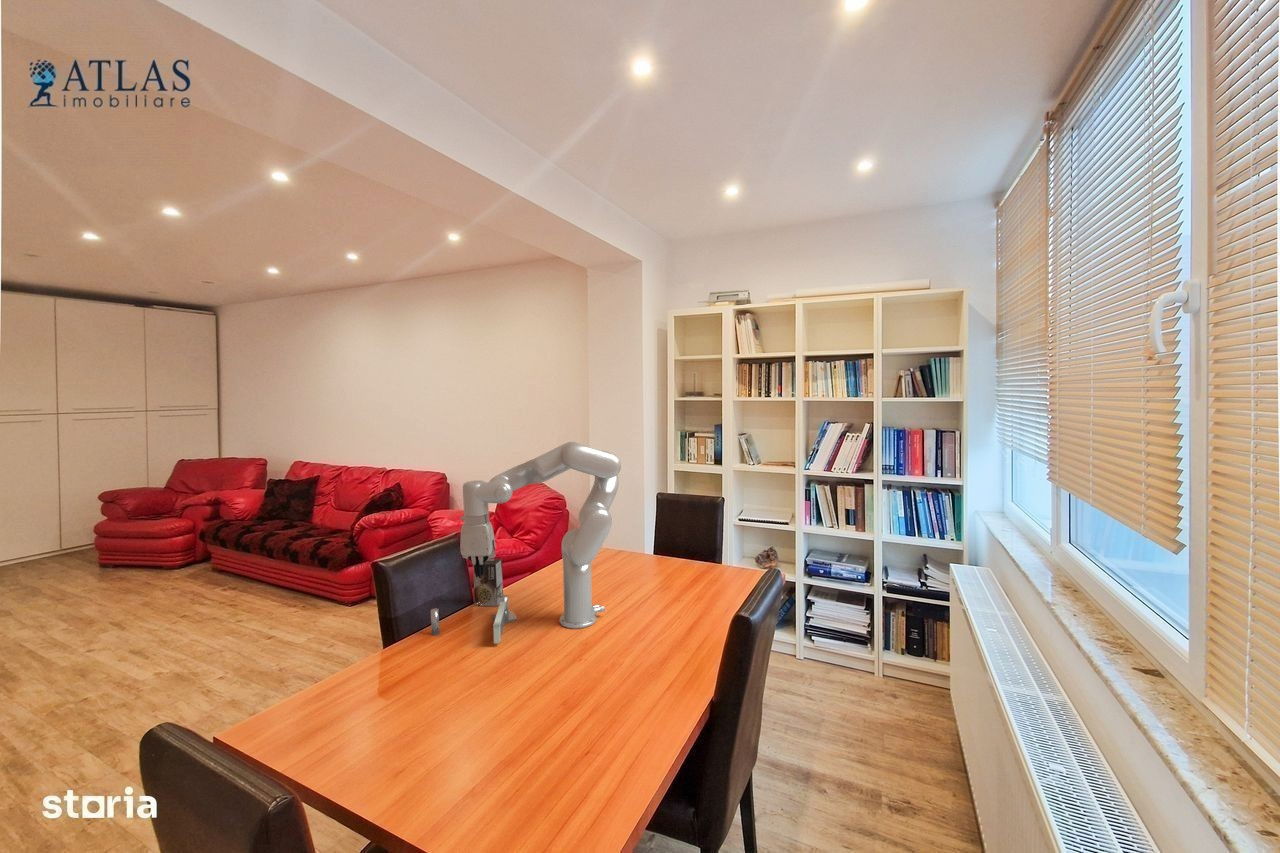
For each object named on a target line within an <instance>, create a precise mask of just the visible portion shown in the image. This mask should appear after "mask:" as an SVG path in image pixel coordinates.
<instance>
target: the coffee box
mask: <svg viewBox="0 0 1280 853" xmlns="http://www.w3.org/2000/svg"><path fill="white" fill-rule="evenodd" d="M472 568H473V569H472V570H473V590H474V594H473V595H474V606H476V607H499V606H500V596H502V595H504V586H503V585H504V583H503V582H504V581H503V559H502V558H491V559H488V560H487V561H486V562H485V573H484V575H483V576H481V577H476V576H475V573H474V565H473V564H472ZM479 602H480V603H479ZM477 603H478V604H477ZM481 604H482V605H481ZM478 605H480V606H478Z"/></svg>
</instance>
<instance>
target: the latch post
mask: <svg viewBox="0 0 1280 853" xmlns="http://www.w3.org/2000/svg"><path fill="white" fill-rule="evenodd" d="M439 614H440V612H439V608H438V607H437V608H436V607H435V608H432V609H431V610H430V628H431V631H430V632H431V636H437V635H440V616H439Z"/></svg>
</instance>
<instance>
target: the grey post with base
mask: <svg viewBox="0 0 1280 853" xmlns="http://www.w3.org/2000/svg"><path fill="white" fill-rule="evenodd" d="M501 602H506V607H505V613H506V618H505V622H504V624H508V622H509V623H513V622H517V621H518V618H517V615H515V613H514V611H513V610H509V595H508V594H503V595H502V596H500V603H501ZM496 615H497V613H496V614H492V615H491V617H493V618H492V619H493V622H495V618H496Z"/></svg>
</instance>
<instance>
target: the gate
mask: <svg viewBox="0 0 1280 853" xmlns="http://www.w3.org/2000/svg"><path fill="white" fill-rule="evenodd" d="M505 607H506V602H501V603H500V604H499V605H498V610H497V613H496V614H497V615H496V618H495V621H493V625H492V626H493V630H492V631H493V644H499V643H501V641H502V640H501V636H502V633H503V629H504V627H505V626H504V625H505V623H504V622H505V618H506V613H505Z"/></svg>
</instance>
